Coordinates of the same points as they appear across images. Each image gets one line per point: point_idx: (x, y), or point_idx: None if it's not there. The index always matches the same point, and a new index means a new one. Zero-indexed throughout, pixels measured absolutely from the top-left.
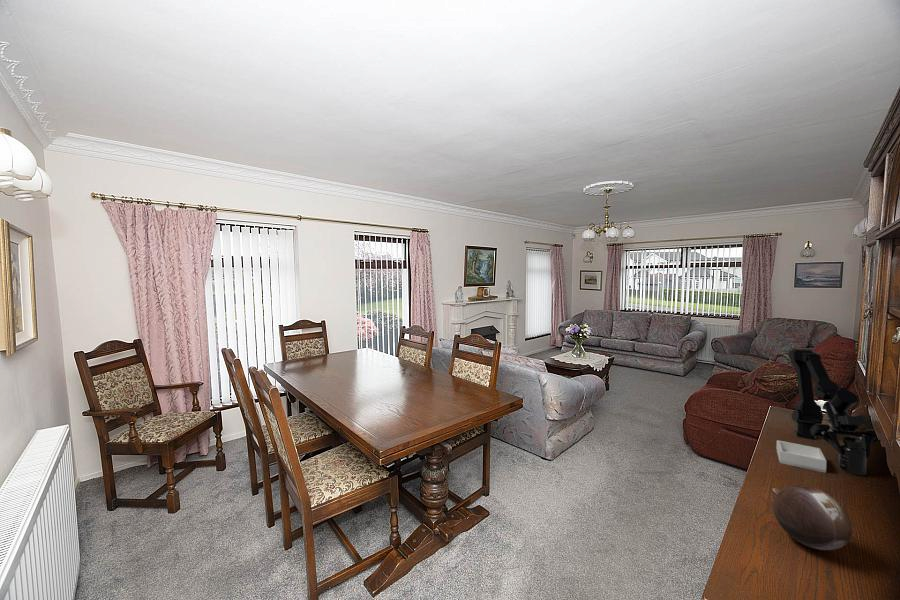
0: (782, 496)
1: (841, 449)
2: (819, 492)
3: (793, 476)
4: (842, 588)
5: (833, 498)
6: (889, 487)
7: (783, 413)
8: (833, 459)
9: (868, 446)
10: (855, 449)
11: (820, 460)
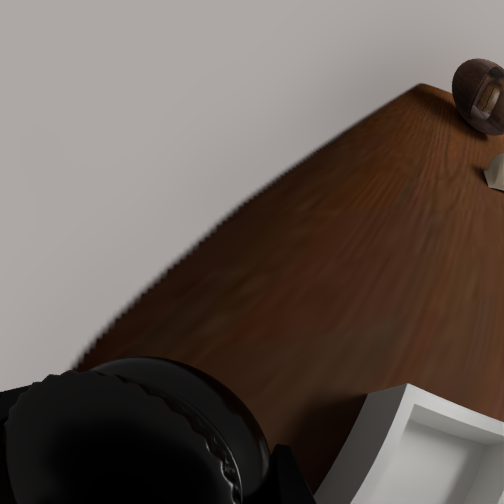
0: None
1: (283, 467)
2: (493, 62)
3: (489, 318)
4: (452, 94)
5: (480, 60)
6: (161, 275)
7: None
8: None
9: (1, 401)
10: (184, 393)
11: (427, 392)
